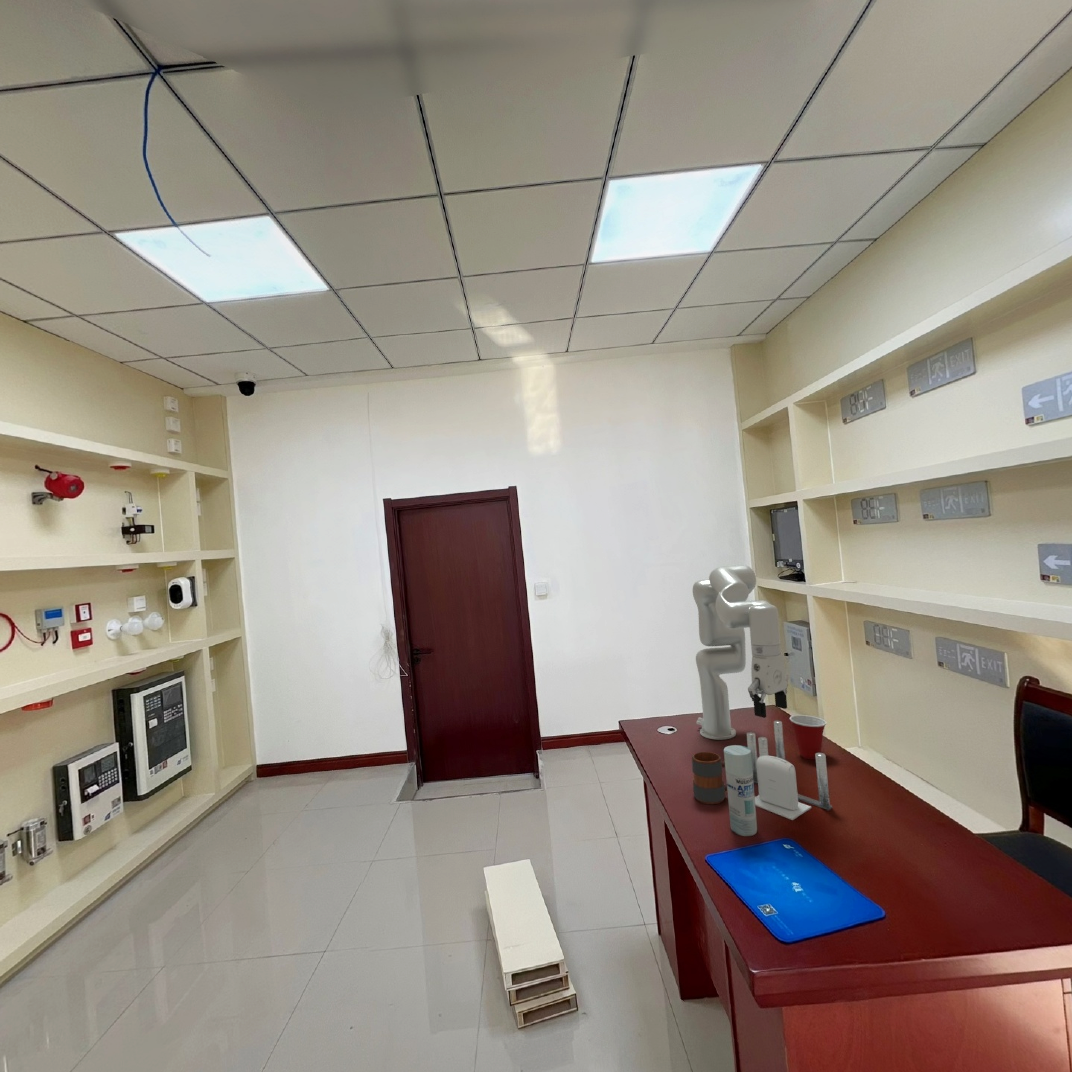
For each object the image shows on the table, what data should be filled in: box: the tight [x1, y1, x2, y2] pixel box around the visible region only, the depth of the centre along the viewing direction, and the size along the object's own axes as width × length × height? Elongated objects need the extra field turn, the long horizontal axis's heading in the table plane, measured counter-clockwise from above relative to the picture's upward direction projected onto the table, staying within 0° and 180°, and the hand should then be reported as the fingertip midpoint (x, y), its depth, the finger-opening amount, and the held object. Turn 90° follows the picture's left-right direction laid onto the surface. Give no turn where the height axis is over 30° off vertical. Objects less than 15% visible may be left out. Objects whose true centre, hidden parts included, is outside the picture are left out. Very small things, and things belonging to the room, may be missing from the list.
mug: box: [691, 751, 728, 805], centre depth 155 cm, size 9×12×12 cm
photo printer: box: [756, 755, 799, 810], centre depth 148 cm, size 10×4×12 cm, turn 38°
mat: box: [755, 794, 812, 821], centre depth 148 cm, size 13×9×1 cm
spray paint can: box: [723, 744, 758, 837], centre depth 138 cm, size 6×6×20 cm
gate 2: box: [757, 736, 833, 811], centre depth 152 cm, size 20×2×14 cm, turn 34°
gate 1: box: [746, 720, 786, 785], centre depth 168 cm, size 3×17×14 cm, turn 124°
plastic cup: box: [789, 714, 827, 760], centre depth 178 cm, size 11×11×12 cm
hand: (771, 712), depth 150 cm, fingers open, 9 cm apart
